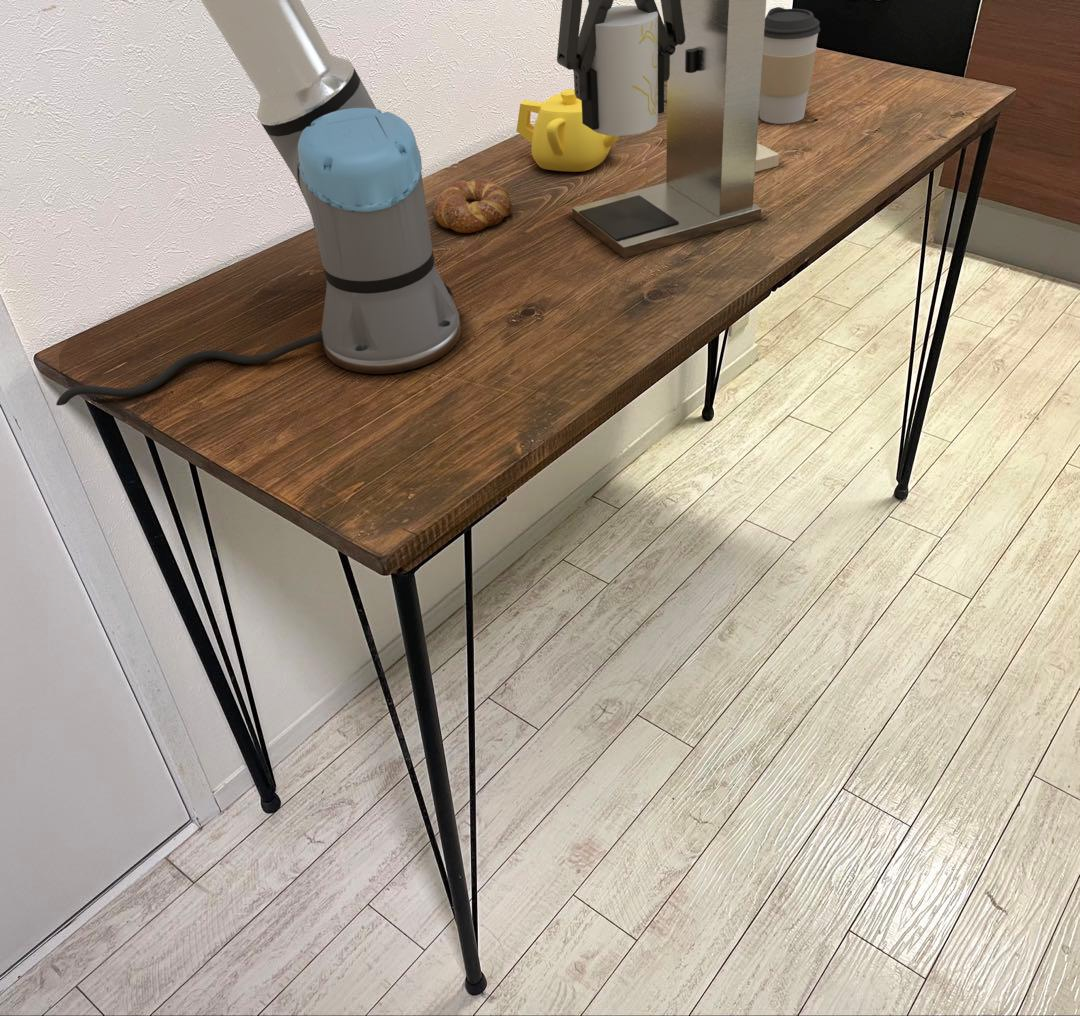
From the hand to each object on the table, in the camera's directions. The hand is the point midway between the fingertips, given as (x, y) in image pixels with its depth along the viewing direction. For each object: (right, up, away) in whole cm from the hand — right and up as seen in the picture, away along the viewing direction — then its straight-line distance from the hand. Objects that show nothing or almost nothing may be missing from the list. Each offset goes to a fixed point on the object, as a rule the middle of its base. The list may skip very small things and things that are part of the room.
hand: (623, 117), depth 122 cm
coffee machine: (+7, -9, +11) cm, 16 cm away
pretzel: (-19, -8, +16) cm, 26 cm away
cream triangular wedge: (+17, +2, +23) cm, 29 cm away
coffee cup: (+28, +14, +37) cm, 48 cm away
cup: (0, -1, 0) cm, 1 cm away
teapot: (-4, +5, +29) cm, 30 cm away
